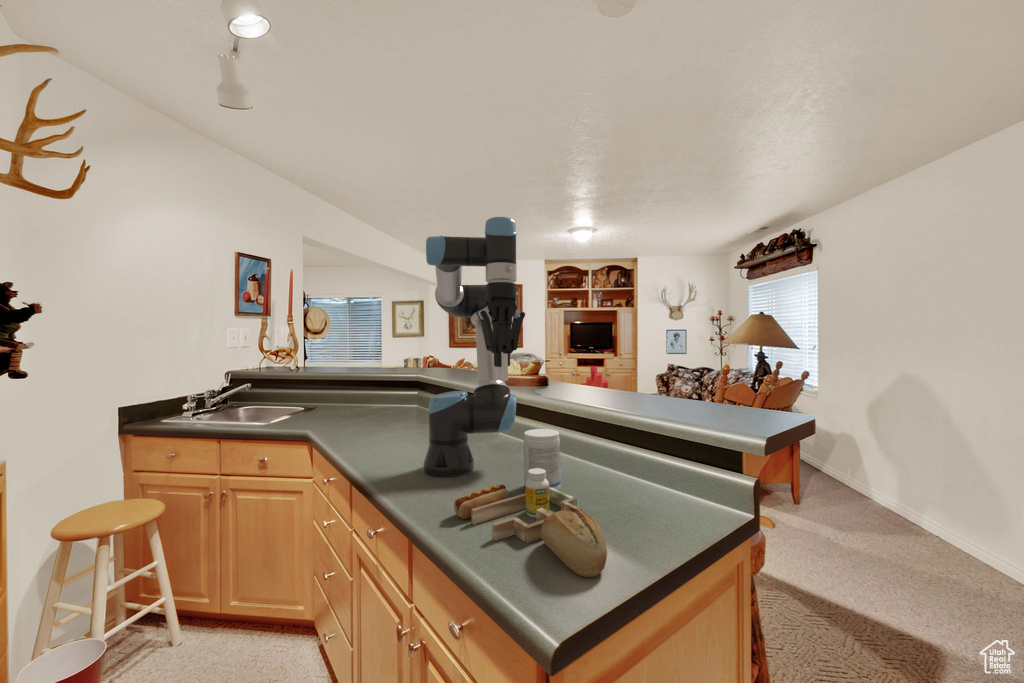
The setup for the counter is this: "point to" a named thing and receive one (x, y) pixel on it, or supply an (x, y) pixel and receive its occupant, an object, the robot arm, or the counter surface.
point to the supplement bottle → (536, 491)
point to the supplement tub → (543, 454)
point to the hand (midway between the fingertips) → (502, 380)
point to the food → (479, 500)
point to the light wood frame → (514, 524)
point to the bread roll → (576, 541)
